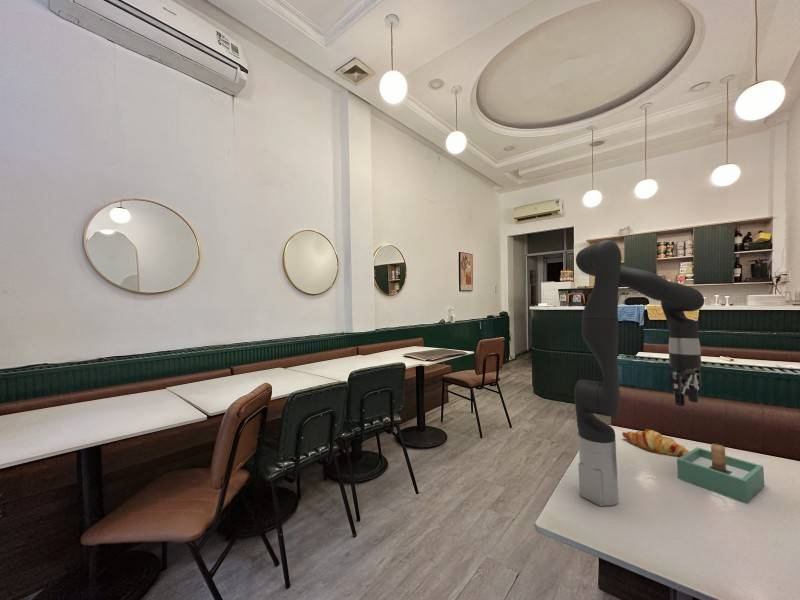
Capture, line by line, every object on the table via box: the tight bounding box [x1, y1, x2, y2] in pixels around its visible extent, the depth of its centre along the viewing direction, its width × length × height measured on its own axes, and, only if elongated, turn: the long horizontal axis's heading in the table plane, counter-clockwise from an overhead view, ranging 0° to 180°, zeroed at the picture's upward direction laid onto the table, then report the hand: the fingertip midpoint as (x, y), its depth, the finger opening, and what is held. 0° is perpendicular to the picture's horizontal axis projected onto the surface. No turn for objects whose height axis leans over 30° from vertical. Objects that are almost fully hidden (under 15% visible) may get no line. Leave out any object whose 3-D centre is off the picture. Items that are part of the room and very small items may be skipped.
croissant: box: [621, 428, 690, 457], centre depth 120 cm, size 21×10×8 cm, turn 35°
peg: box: [710, 443, 726, 473], centre depth 97 cm, size 3×3×10 cm
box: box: [676, 447, 766, 504], centre depth 97 cm, size 15×15×6 cm
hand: (687, 403), depth 100 cm, fingers open, 8 cm apart
